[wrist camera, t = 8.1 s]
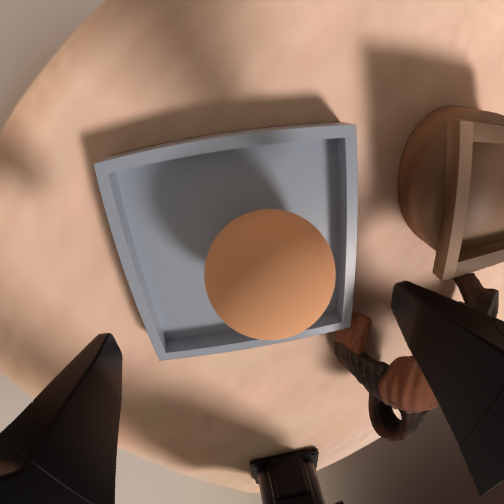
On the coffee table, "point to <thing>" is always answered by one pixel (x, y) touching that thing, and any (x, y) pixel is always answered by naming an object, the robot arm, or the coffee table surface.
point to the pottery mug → (400, 369)
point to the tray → (225, 221)
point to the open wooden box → (456, 188)
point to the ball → (269, 274)
